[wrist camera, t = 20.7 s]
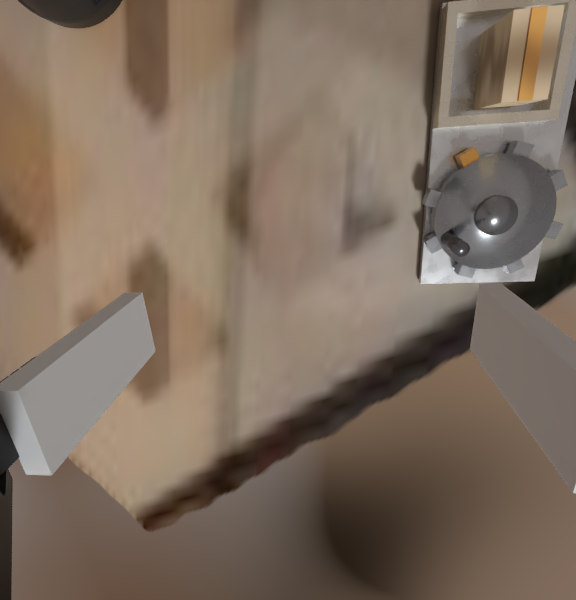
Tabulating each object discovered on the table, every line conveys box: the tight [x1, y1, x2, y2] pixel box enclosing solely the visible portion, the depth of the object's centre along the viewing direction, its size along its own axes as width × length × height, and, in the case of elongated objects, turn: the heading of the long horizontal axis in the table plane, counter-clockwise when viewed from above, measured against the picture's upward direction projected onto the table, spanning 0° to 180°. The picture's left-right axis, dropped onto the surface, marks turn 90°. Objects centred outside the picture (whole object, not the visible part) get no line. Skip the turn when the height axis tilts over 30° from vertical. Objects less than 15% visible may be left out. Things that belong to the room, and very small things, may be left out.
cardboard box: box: [473, 5, 564, 110], centre depth 35 cm, size 7×4×7 cm, turn 4°
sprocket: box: [422, 141, 567, 278], centre depth 41 cm, size 16×16×7 cm
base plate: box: [419, 0, 576, 284], centre depth 41 cm, size 30×14×3 cm, turn 3°
